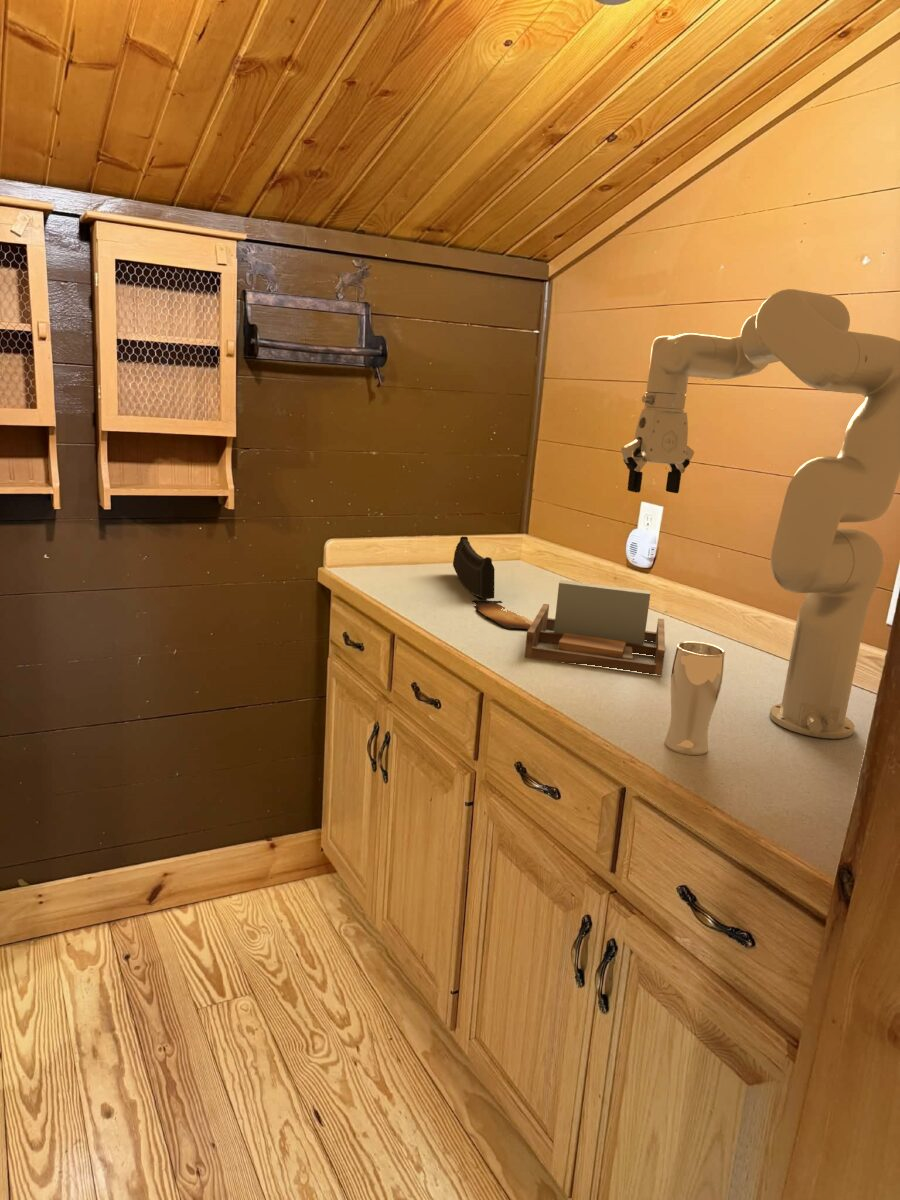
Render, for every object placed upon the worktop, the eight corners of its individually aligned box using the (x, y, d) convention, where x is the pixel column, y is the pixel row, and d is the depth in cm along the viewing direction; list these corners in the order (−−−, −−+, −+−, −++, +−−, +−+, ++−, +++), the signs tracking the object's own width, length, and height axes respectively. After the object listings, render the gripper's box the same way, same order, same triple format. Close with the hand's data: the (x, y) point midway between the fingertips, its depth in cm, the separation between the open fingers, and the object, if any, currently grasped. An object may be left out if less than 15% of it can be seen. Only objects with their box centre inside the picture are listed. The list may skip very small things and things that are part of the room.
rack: (661, 676, 153) (665, 650, 152) (524, 657, 158) (527, 631, 157) (660, 642, 175) (664, 619, 174) (541, 626, 181) (543, 603, 179)
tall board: (642, 652, 167) (650, 594, 165) (552, 640, 171) (559, 582, 168) (642, 648, 170) (650, 590, 167) (554, 636, 174) (560, 580, 171)
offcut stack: (631, 671, 156) (633, 653, 155) (555, 660, 159) (557, 642, 158) (632, 658, 164) (634, 641, 163) (560, 648, 167) (561, 631, 166)
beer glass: (686, 734, 126) (701, 639, 123) (721, 753, 121) (737, 653, 117) (651, 740, 123) (665, 643, 120) (685, 759, 117) (700, 657, 114)
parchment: (545, 631, 177) (546, 627, 177) (503, 632, 174) (503, 628, 174) (500, 603, 200) (501, 600, 200) (462, 603, 197) (462, 599, 196)
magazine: (500, 568, 193) (472, 512, 218) (486, 568, 192) (460, 511, 217) (488, 630, 201) (463, 569, 226) (475, 630, 200) (451, 569, 225)
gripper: (642, 401, 155) (630, 494, 159) (712, 407, 163) (699, 495, 167) (616, 399, 161) (606, 488, 165) (685, 405, 169) (673, 490, 173)
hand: (653, 491), depth 166 cm, fingers open, 9 cm apart
